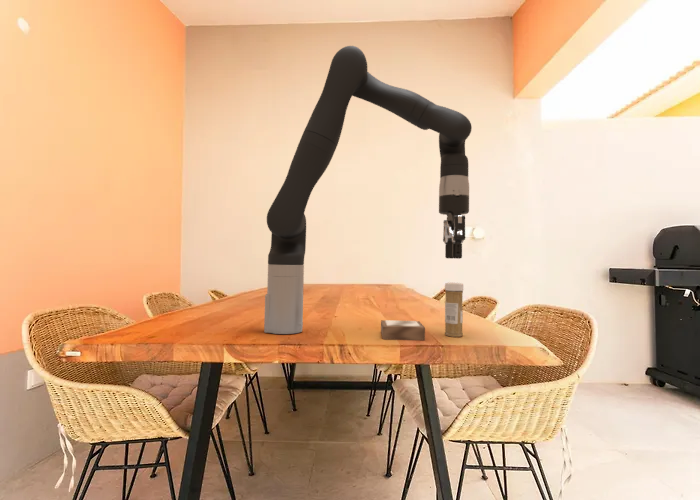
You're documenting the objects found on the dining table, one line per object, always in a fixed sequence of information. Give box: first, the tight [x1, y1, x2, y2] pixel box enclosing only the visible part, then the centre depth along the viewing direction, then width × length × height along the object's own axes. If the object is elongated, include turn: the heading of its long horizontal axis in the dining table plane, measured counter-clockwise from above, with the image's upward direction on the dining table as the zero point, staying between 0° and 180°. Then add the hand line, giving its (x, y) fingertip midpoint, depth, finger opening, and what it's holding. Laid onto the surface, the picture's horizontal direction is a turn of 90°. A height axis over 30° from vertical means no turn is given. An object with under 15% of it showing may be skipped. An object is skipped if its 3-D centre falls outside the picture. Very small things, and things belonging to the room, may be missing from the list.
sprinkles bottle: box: [444, 282, 464, 338], centre depth 105 cm, size 5×5×14 cm
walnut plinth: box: [380, 319, 426, 341], centre depth 103 cm, size 10×10×3 cm
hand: (453, 258), depth 105 cm, fingers open, 8 cm apart
